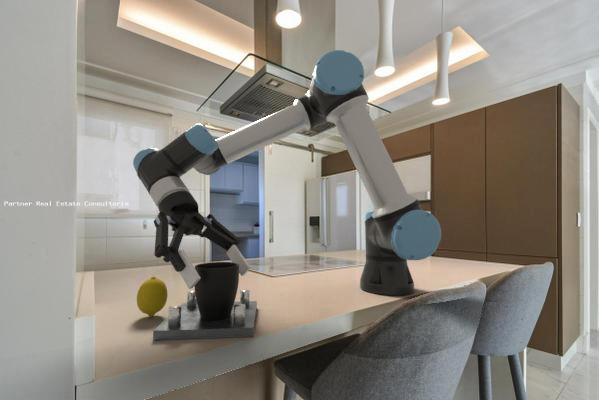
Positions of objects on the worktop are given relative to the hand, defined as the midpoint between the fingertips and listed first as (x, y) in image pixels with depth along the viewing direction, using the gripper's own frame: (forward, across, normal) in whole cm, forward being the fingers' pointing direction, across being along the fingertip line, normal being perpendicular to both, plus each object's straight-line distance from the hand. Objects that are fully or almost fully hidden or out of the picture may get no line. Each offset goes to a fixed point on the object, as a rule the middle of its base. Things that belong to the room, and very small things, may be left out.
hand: (223, 277), depth 54 cm
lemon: (-4, +4, -17) cm, 18 cm away
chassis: (+4, 0, -8) cm, 9 cm away
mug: (+3, 0, -7) cm, 8 cm away
